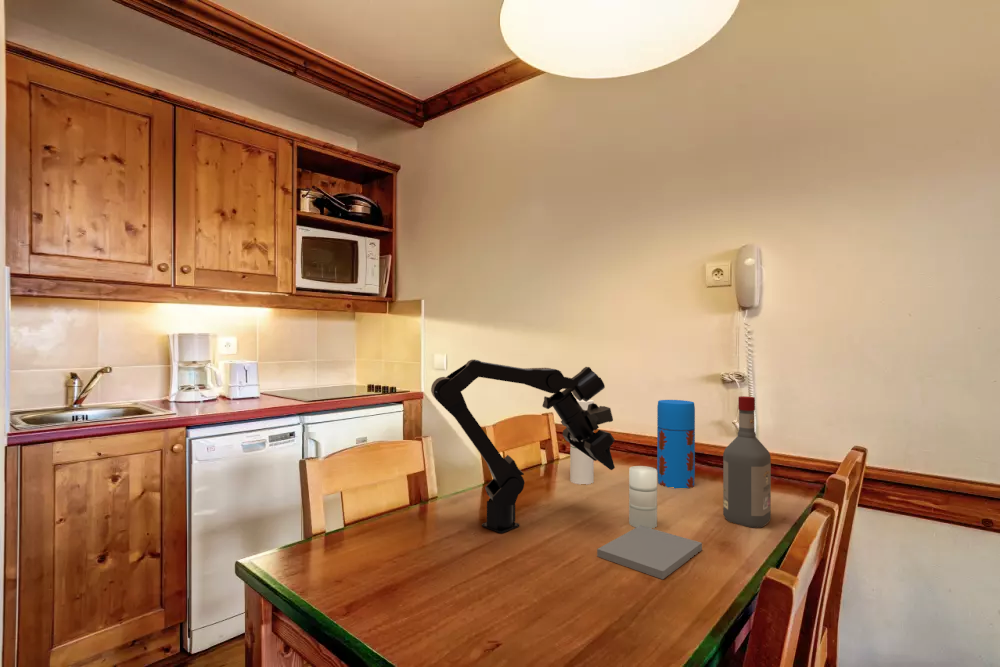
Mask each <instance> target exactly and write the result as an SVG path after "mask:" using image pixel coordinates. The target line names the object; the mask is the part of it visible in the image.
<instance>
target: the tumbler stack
mask: <svg viewBox="0 0 1000 667" xmlns="http://www.w3.org/2000/svg"><path fill="white" fill-rule="evenodd" d="M628 471H629V472H628V488H629V489H628V491H629V492H628V499H629V500H628V514H629V515H628V524H629V525H630V526H631V527H632V528H633V527H634V528H637V527H638V526H640V525H641V526H644V527H648V528H651V529H652V528H653V529H656V528H657V527H658V473H657V468H655V467H652V466H646V465H634V466H630V467H629V468H628ZM655 527H656V528H655Z"/></svg>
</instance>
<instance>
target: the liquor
mask: <svg viewBox="0 0 1000 667" xmlns="http://www.w3.org/2000/svg"><path fill="white" fill-rule="evenodd" d="M737 399H738V402H737V403H738V405H737V406H738V408H737V409H738V415H739V416H738V432H737V436H736V437H735V438H734V439H733V441H731V442H730V443H729V444H728V445H727V446H726V447H725V448H724V451H723V453H722V455H723V456H722V459H723V460H722V461H723V463H722V464H723V467H722V468H723V469H722V470H723V471H722V473H723V474H722V476H723V478H722V481H723V483H722V487H723V490H722V493H723V494H722V496H723V497H722V498H723V501H722V503H723V505H722V507H723V508H722V511H723V512H722V514H723V517H724V518H726V520H727V521H728V522H729V521H730V522H729V523H731V522H733V523H732V524H735V523H736V525H739V524H740V526H742V527H748V528H763V527H764V526H766V525H767V524H768V523H769V522H770V521H771V518H772V517H771V516H772V514H771V512H772V511H771V509H772V507H771V506H772V505H771V502H772V501H771V497H772V495H771V494H772V493H771V491H772V488H771V486H772V484H771V481H772V480H771V475H772V473H771V472H772V471H771V470H772V469H771V465H772V464H771V463H772V461H771V459H772V458H771V457H772V456H771V454H770V451H769V450H768V449H767V448H766V447H765V445H763V443H762V442H761V441H760V440H759V439H758V438H757V433H756V432H755V410H756V404H755V403H756V398H755V397H754V396H742V395H741V396H740V395H739V396H738V398H737Z"/></svg>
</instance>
